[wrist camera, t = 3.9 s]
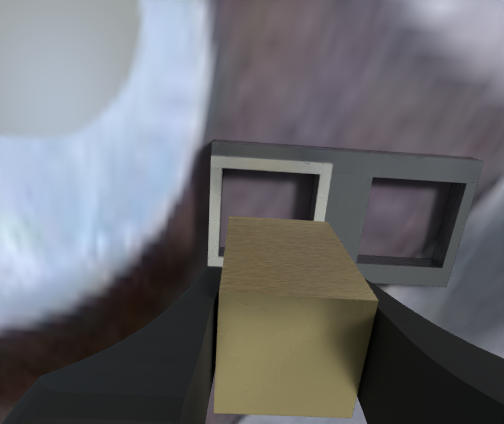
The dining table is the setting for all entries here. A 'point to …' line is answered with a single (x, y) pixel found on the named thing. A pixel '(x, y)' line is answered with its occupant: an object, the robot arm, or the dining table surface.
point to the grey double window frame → (355, 199)
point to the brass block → (290, 321)
